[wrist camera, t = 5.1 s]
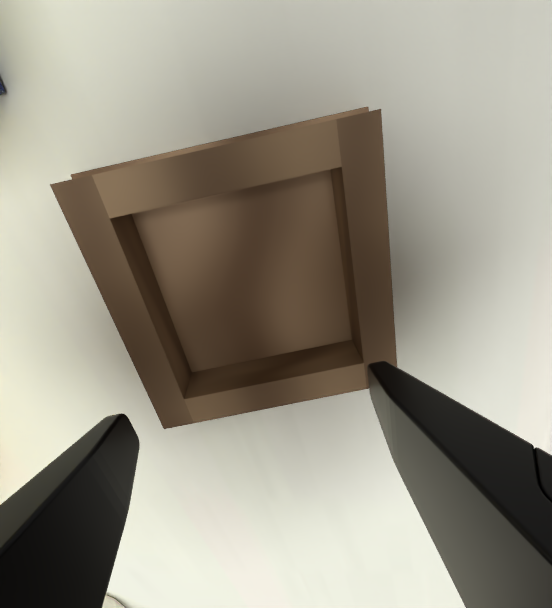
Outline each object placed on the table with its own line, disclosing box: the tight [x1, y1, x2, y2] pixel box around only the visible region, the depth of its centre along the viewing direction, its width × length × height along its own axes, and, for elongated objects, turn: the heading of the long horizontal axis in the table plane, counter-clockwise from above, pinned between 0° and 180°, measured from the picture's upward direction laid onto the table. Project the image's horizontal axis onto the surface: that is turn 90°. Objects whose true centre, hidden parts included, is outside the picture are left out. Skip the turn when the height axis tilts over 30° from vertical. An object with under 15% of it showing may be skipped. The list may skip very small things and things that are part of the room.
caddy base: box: [50, 107, 397, 429], centre depth 15 cm, size 12×12×2 cm
